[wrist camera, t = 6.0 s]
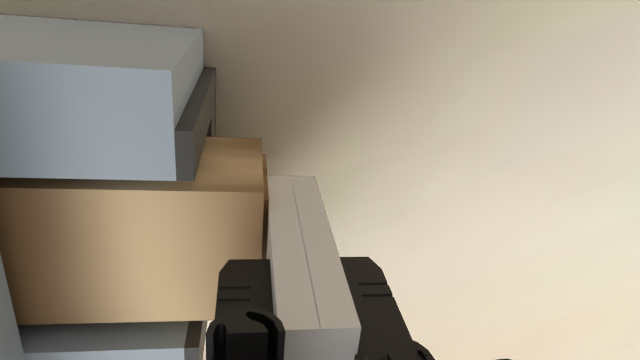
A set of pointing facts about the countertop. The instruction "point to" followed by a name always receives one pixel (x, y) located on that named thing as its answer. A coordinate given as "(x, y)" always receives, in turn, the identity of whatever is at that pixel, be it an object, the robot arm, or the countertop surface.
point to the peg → (132, 240)
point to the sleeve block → (101, 147)
